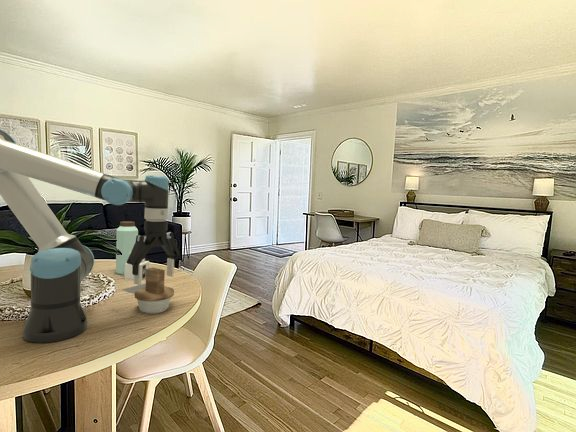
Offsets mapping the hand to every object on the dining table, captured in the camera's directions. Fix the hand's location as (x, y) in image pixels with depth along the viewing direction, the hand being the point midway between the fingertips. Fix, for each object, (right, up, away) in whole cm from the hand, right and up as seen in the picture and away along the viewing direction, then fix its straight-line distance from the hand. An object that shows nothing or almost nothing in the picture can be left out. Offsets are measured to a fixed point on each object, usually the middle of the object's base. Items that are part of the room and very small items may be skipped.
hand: (154, 279), depth 115 cm
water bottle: (-32, -5, +45) cm, 55 cm away
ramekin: (-1, -11, +1) cm, 11 cm away
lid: (0, -5, +1) cm, 6 cm away
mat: (-11, -8, +20) cm, 25 cm away
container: (-23, -7, +36) cm, 43 cm away
